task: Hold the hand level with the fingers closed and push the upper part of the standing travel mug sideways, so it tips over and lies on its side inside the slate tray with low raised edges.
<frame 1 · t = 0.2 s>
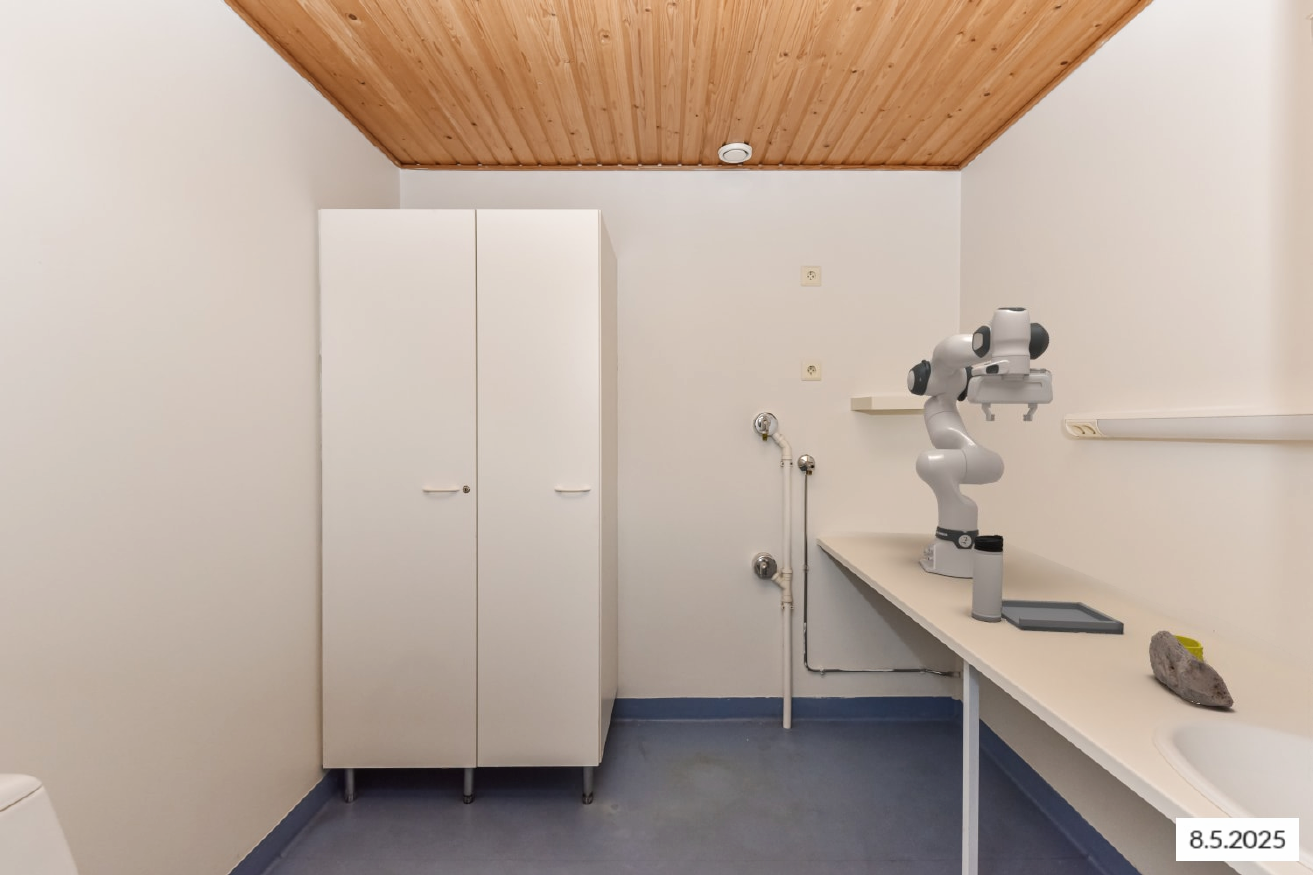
hand: (1008, 421, 160), 48 cm above the table, tool pointing down, fingers open, 8 cm apart
slate tray: (1052, 620, 146), on the table
bracelet: (1178, 657, 125), on the table
pumice stone: (1185, 692, 108), on the table
travel mug: (986, 618, 147), on the table
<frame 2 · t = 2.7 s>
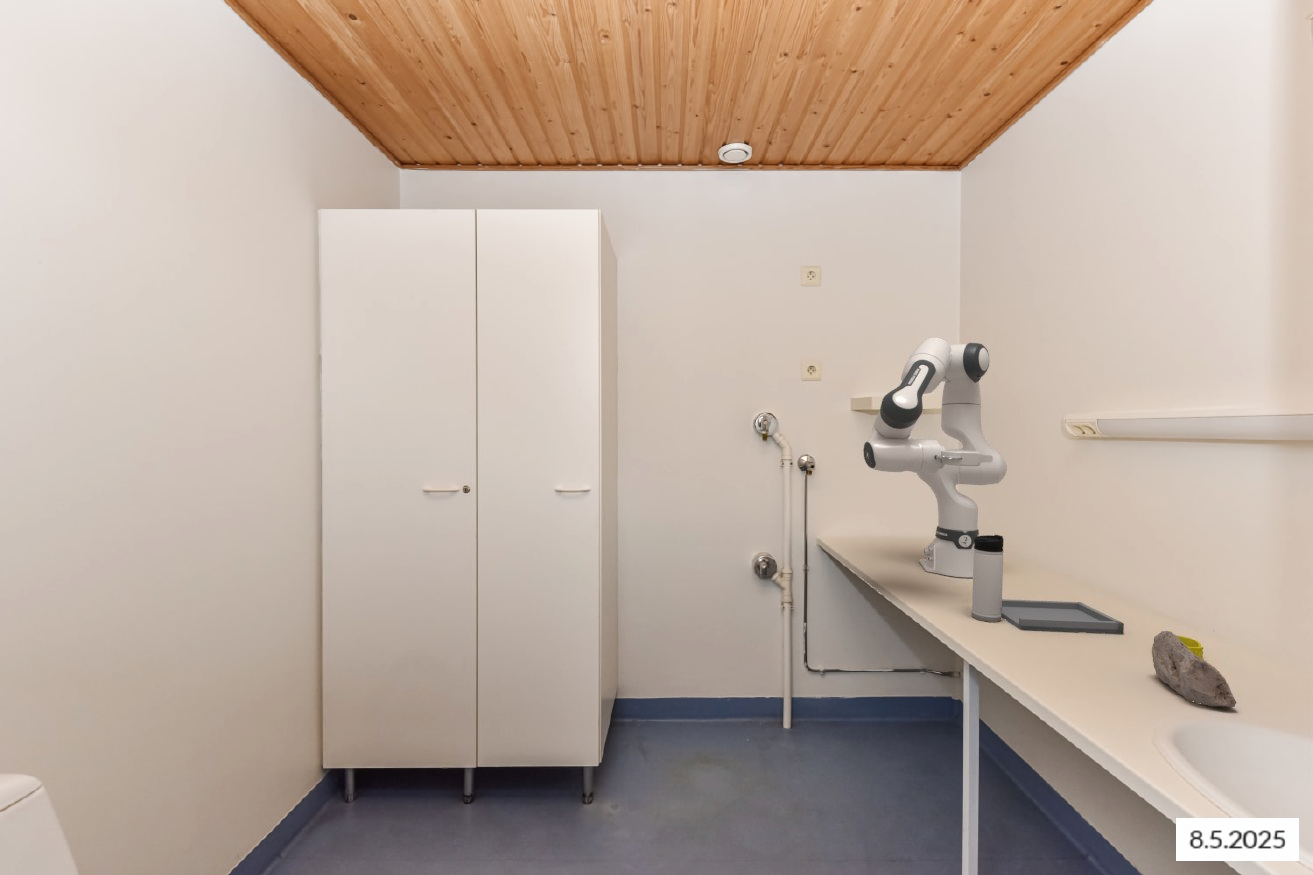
hand: (982, 457, 159), 38 cm above the table, tool horizontal, fingers open, 8 cm apart
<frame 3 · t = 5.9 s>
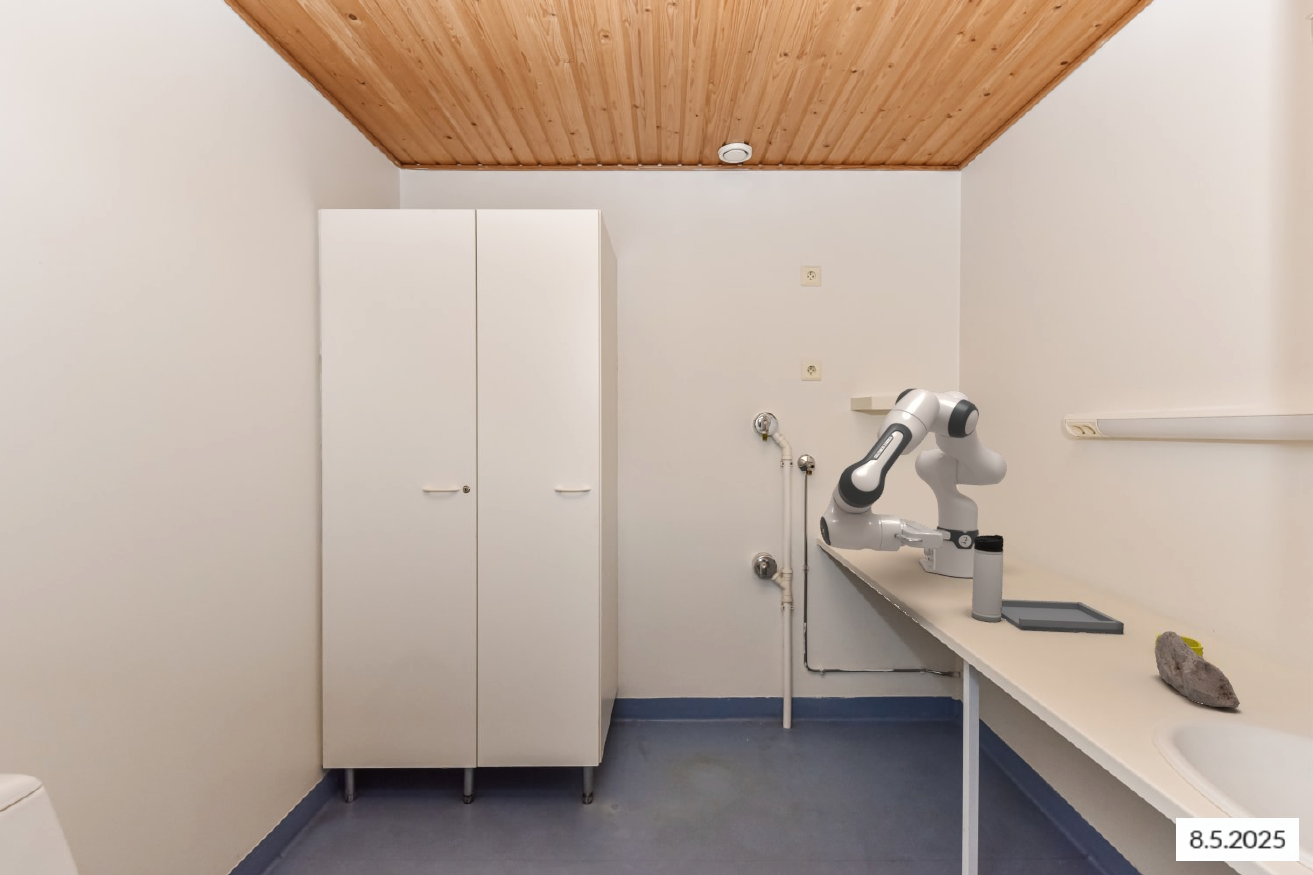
hand: (948, 534, 147), 20 cm above the table, tool horizontal, fingers closed
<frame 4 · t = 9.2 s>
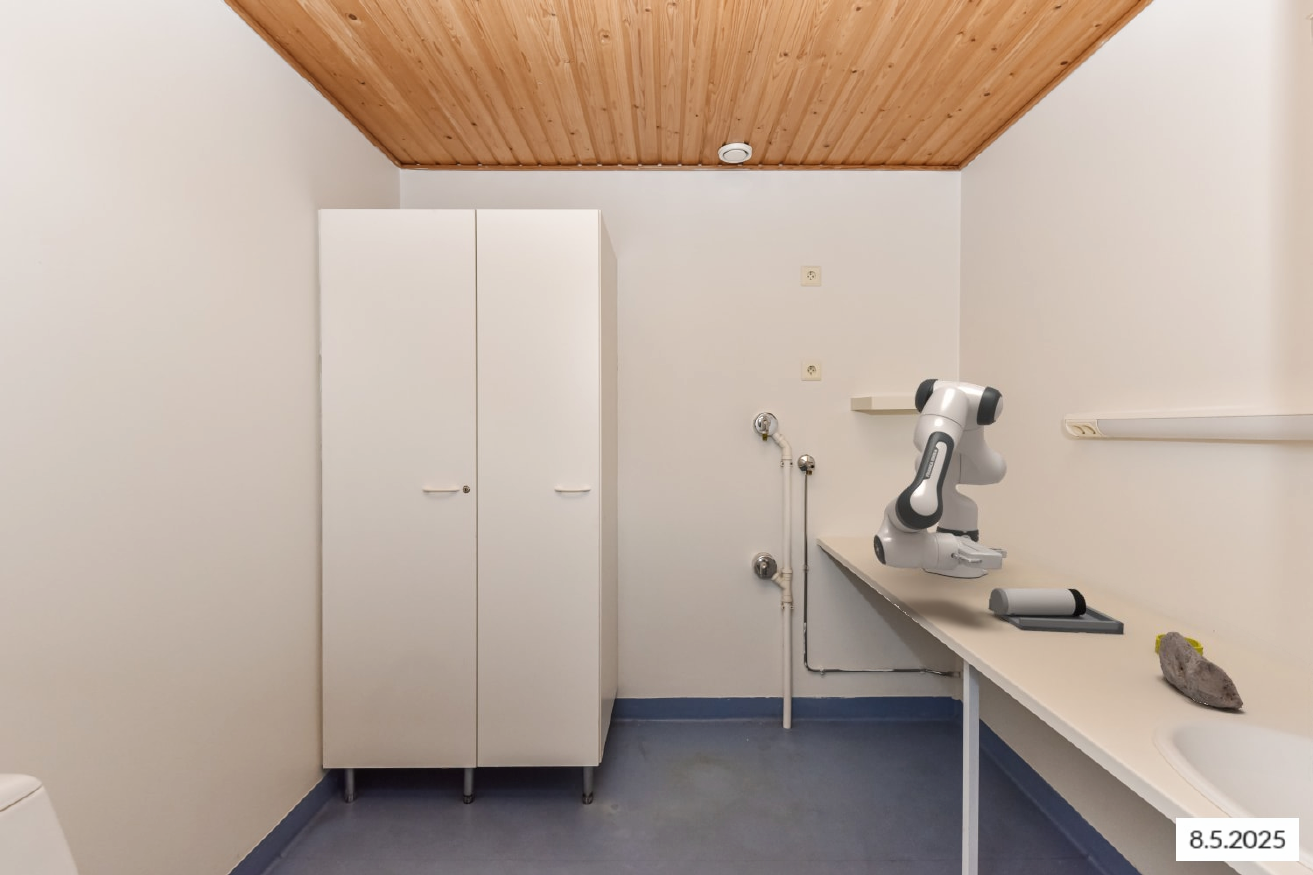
hand: (1003, 553, 146), 16 cm above the table, tool horizontal, fingers closed
travel mug: (995, 602, 147), point 4 cm above the table, touching slate tray
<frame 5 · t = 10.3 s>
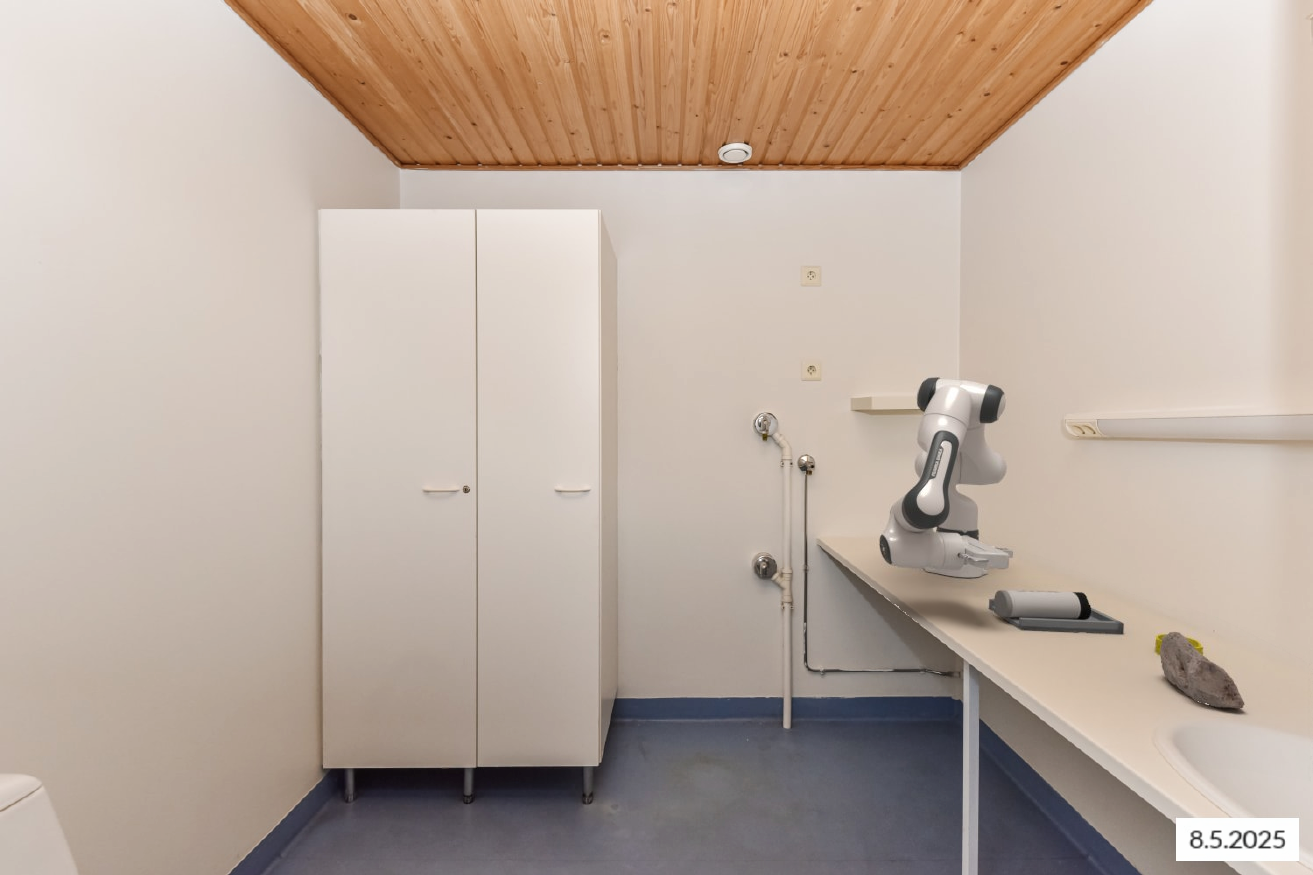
hand: (1010, 552, 146), 16 cm above the table, tool horizontal, fingers closed
travel mug: (999, 603, 145), point 4 cm above the table, touching slate tray
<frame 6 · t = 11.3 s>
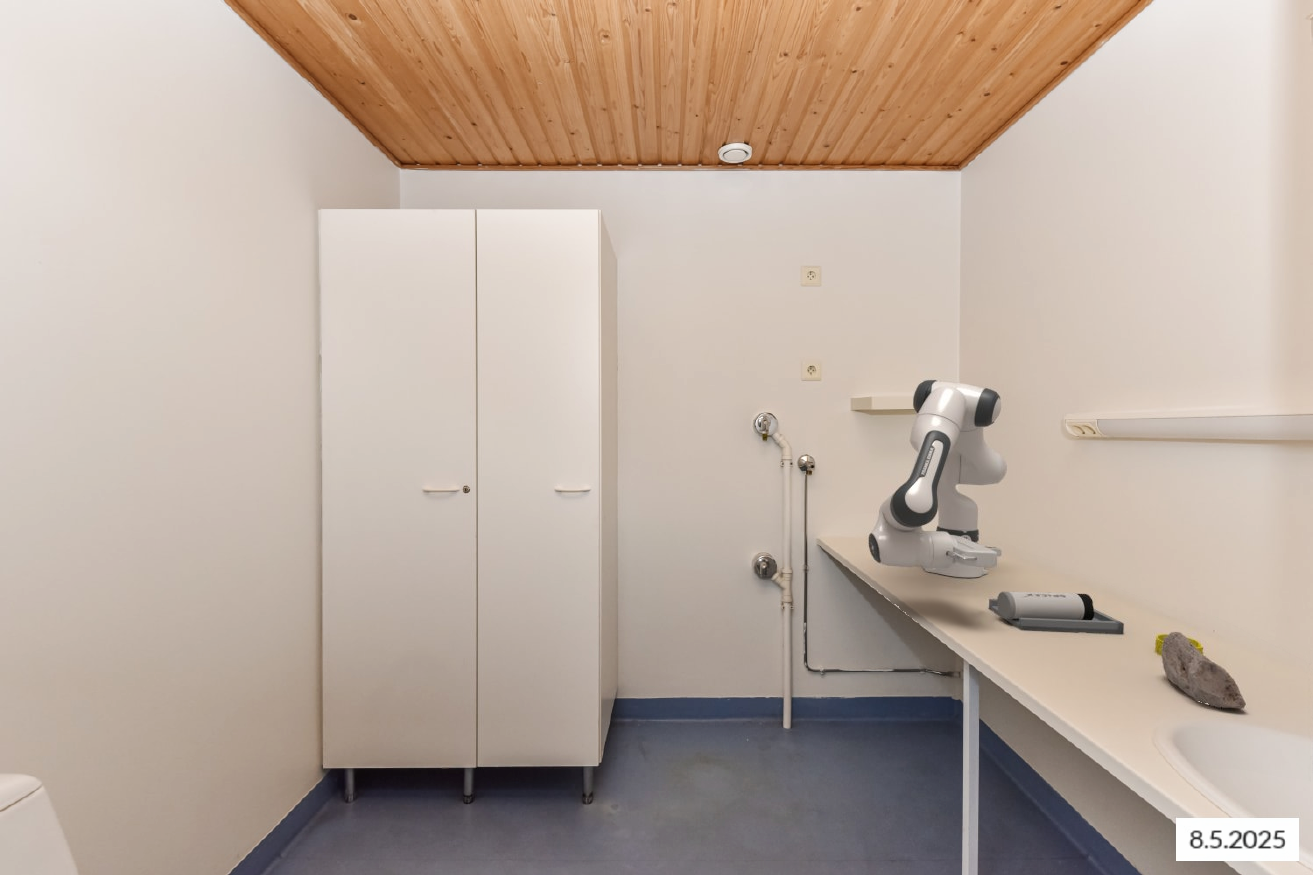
hand: (998, 551, 146), 16 cm above the table, tool horizontal, fingers closed
travel mug: (1002, 605, 144), point 4 cm above the table, touching slate tray
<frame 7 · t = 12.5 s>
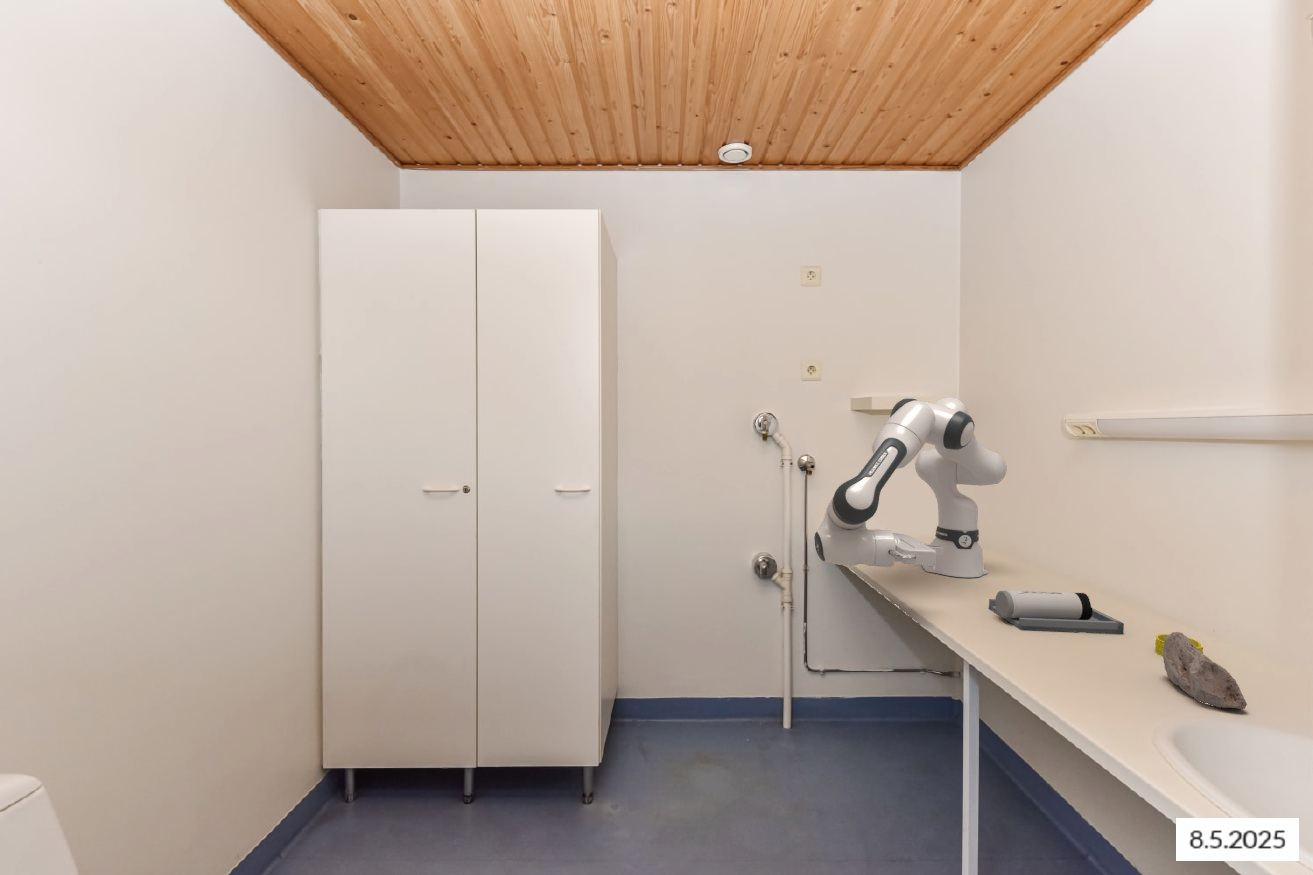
hand: (941, 550, 147), 16 cm above the table, tool horizontal, fingers closed
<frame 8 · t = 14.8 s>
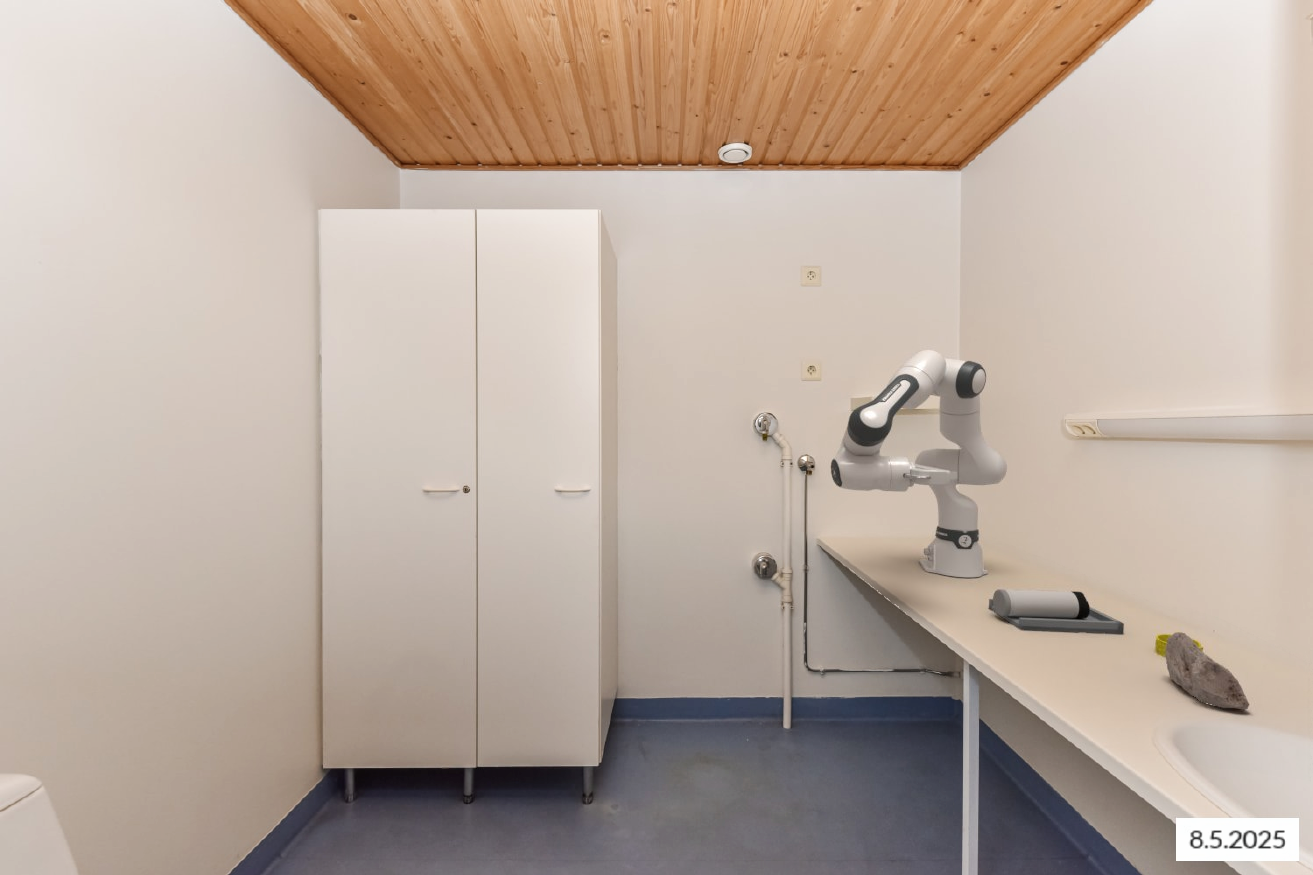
hand: (954, 475, 152), 34 cm above the table, tool horizontal, fingers closed
travel mug: (998, 603, 146), point 4 cm above the table, touching slate tray
at the end: travel mug tilted 90°; travel mug touching slate tray; the gripper is holding nothing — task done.
